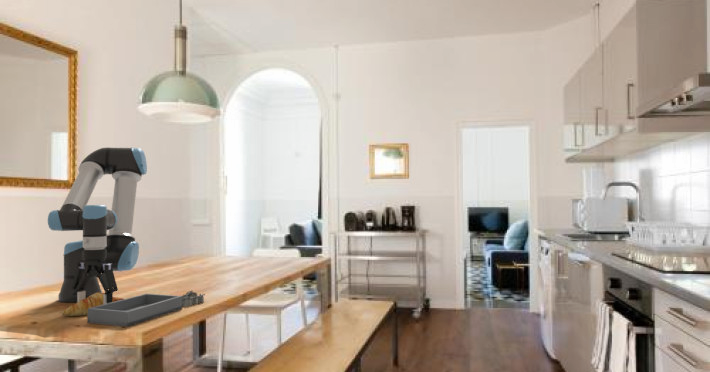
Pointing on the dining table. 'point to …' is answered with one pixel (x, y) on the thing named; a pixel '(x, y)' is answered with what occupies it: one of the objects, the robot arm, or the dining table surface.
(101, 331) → the dining table surface
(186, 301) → the egg carton
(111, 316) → the grey rectangular open tray
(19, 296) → the dining table surface
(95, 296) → the croissant
